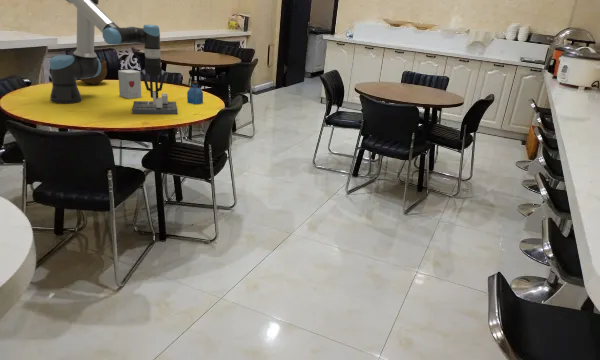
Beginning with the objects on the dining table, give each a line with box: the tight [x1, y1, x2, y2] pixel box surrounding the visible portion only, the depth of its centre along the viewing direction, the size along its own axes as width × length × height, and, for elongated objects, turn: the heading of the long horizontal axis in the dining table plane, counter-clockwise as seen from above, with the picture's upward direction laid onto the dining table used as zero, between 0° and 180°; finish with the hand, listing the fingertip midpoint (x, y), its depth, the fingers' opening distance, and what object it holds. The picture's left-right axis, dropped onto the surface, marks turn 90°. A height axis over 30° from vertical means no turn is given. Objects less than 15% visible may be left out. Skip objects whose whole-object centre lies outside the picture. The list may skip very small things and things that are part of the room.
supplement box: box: [117, 69, 142, 100], centre depth 265 cm, size 9×9×15 cm
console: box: [131, 100, 178, 115], centre depth 243 cm, size 22×19×2 cm
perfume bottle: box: [186, 81, 204, 105], centre depth 263 cm, size 6×6×12 cm
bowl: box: [79, 58, 108, 85], centre depth 291 cm, size 19×19×15 cm
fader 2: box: [161, 93, 169, 104], centre depth 247 cm, size 3×5×5 cm, turn 16°
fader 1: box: [156, 96, 162, 108], centre depth 237 cm, size 3×5×5 cm, turn 16°
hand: (154, 104), depth 237 cm, fingers closed
